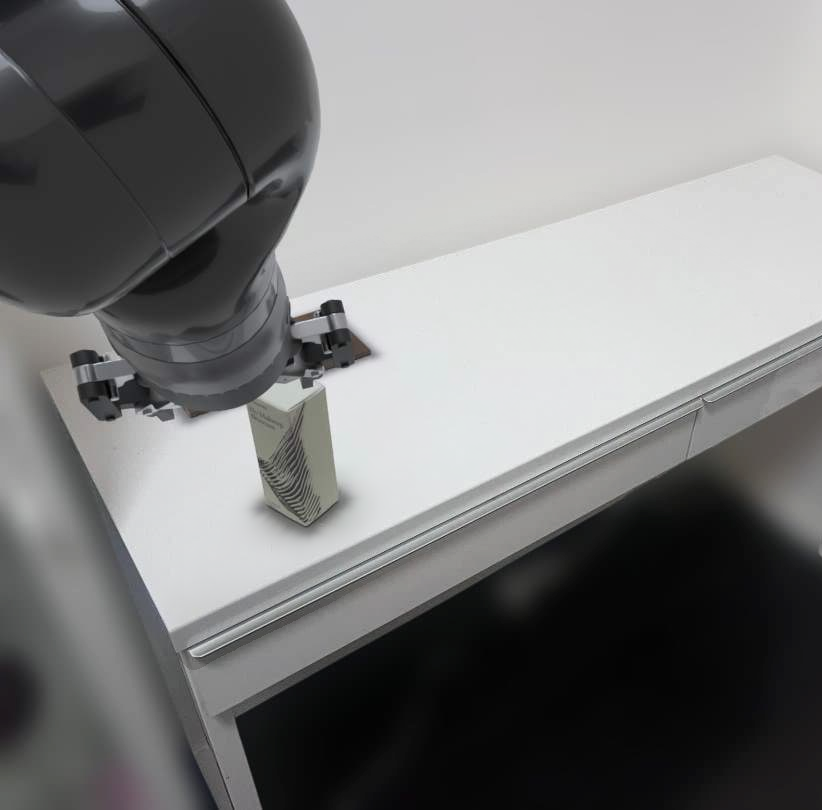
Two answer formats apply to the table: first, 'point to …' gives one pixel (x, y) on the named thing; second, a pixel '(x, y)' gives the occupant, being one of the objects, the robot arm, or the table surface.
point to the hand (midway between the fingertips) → (236, 388)
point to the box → (295, 449)
